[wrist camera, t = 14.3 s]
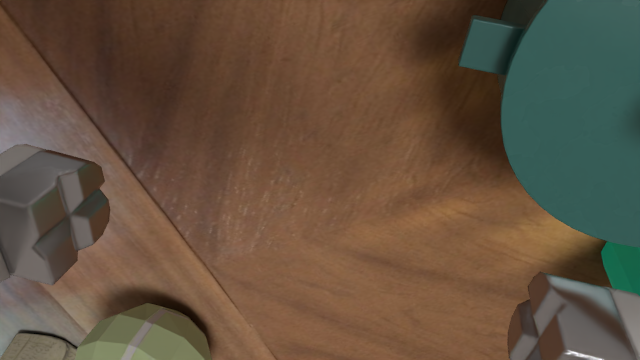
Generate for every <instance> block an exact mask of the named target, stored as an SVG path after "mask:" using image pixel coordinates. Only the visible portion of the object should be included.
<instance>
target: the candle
mask: <svg viewBox="0 0 640 360" xmlns="http://www.w3.org/2000/svg"><path fill="white" fill-rule="evenodd" d="M601 256H602V261H603V265H604V268H605V271H606V273H607V276H608V278H609V281H610V283H611V285H612V288H614V289H618V290H623V291H627V292H632V293H636V294H638V295H639V296H640V247H632V246H627V245H622V244H617V243H612V242H609V241H607V243H606V244H605V246H604V248H603V249H602V251H601Z"/></svg>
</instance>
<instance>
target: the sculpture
mask: <svg viewBox="0 0 640 360" xmlns="http://www.w3.org/2000/svg"><path fill="white" fill-rule="evenodd" d="M76 353H77V348H75V347H74V346H72V345H71V344H69V343H68V342H67V341H64V340H62V339H59V338H56V337H52V336H46V335H40V334H28V333H19V334H17V335H16V336H15V337H14V339H13V341H12V342H11V344H10V345H9V347H8V348H7V350H6V351H5V352H4V354H3V355H2V357H1V358H0V360H75V357H76Z"/></svg>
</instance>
